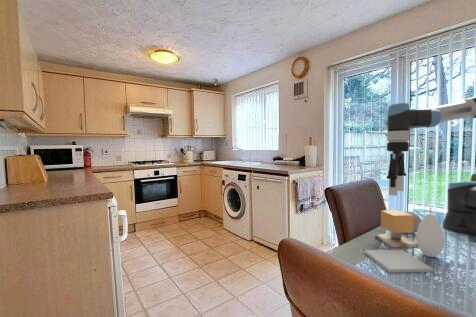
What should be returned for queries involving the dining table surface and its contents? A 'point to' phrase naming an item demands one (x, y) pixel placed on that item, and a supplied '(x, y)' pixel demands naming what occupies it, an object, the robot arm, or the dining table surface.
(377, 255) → the mat
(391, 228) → the orange block
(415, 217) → the donut
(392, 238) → the post stand
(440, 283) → the dining table surface
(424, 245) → the white egg shape
